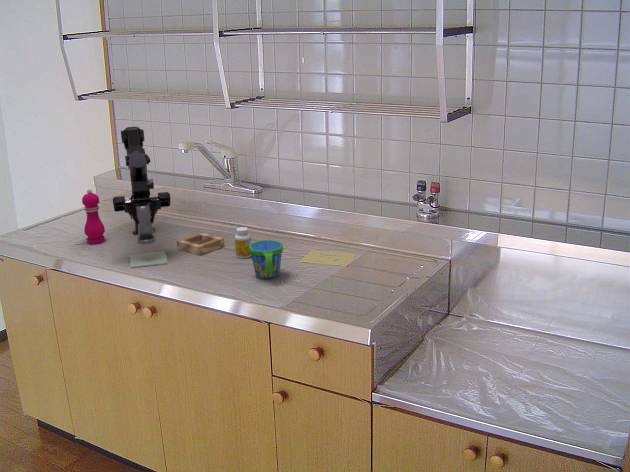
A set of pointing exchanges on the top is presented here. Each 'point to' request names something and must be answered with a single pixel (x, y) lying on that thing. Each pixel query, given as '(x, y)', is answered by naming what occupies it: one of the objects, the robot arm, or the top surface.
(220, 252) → the top surface
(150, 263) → the rubber mat
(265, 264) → the snack cup
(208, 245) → the collar block
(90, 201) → the pepper mill
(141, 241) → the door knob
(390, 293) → the top surface
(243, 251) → the supplement bottle
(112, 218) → the top surface
